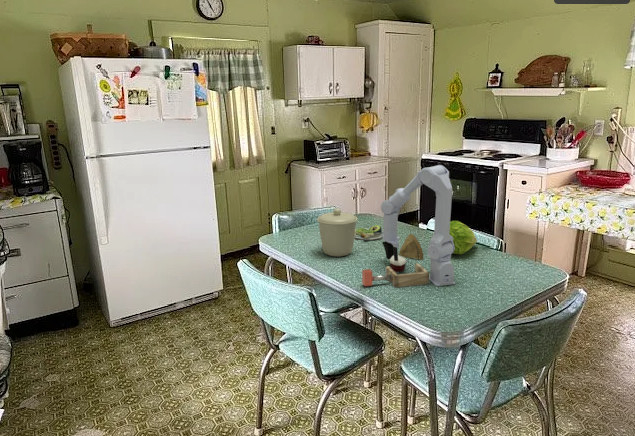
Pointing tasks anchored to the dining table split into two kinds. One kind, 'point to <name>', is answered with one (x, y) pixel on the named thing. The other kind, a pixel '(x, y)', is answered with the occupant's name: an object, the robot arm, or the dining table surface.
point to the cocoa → (397, 261)
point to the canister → (337, 232)
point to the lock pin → (372, 277)
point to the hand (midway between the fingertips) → (389, 258)
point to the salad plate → (369, 233)
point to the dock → (409, 277)
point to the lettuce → (461, 237)
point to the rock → (411, 248)
